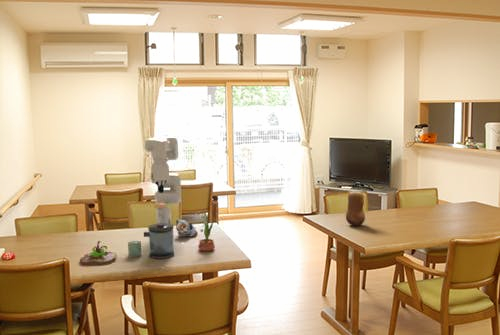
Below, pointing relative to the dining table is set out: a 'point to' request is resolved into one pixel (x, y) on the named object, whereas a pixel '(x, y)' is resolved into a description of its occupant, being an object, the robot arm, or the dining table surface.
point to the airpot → (160, 240)
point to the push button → (160, 208)
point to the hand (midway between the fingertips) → (160, 192)
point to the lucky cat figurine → (185, 228)
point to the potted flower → (206, 235)
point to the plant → (98, 257)
